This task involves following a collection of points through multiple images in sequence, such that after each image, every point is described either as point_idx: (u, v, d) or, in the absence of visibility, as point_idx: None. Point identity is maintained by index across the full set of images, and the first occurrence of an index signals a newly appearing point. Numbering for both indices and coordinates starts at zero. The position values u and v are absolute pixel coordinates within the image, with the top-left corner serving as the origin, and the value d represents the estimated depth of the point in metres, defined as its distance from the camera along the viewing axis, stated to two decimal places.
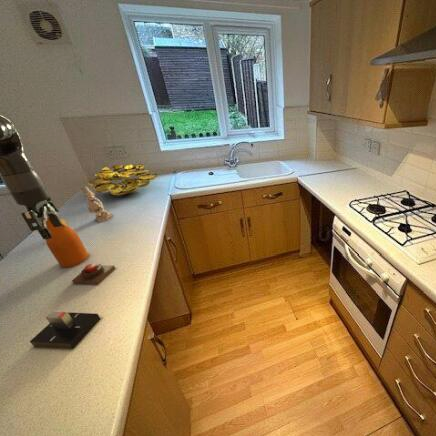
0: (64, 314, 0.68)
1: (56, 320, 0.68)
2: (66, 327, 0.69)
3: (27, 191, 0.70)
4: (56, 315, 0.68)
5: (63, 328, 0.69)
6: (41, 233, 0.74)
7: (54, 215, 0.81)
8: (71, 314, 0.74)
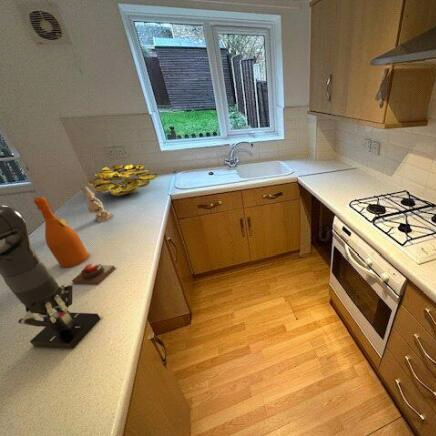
0: (64, 314, 0.68)
1: None
2: (66, 327, 0.69)
3: (23, 292, 0.59)
4: (56, 315, 0.68)
5: (63, 328, 0.69)
6: (50, 326, 0.67)
7: None
8: (71, 314, 0.74)
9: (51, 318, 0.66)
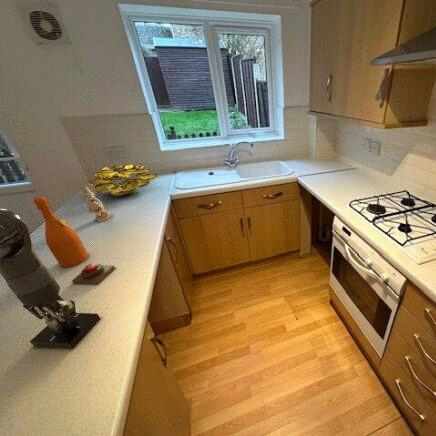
0: None
1: (62, 315, 0.69)
2: None
3: (51, 281, 0.63)
4: None
5: None
6: (69, 322, 0.69)
7: None
8: None
9: None
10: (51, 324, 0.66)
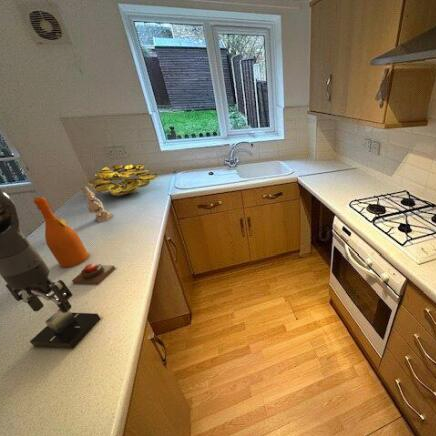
0: None
1: (62, 315, 0.69)
2: (72, 319, 0.72)
3: (40, 263, 0.61)
4: (58, 313, 0.68)
5: (69, 323, 0.71)
6: (65, 305, 0.66)
7: (34, 296, 0.66)
8: None
9: None
10: (51, 324, 0.66)
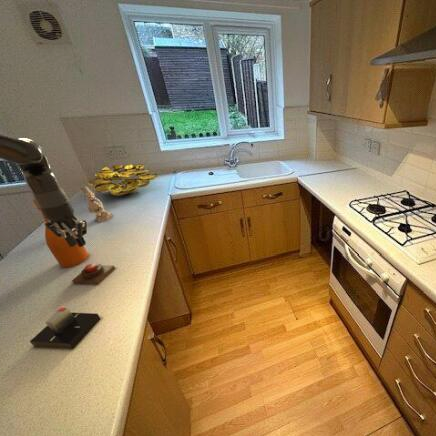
0: None
1: (62, 315, 0.69)
2: (72, 319, 0.72)
3: (68, 202, 0.80)
4: (58, 313, 0.68)
5: (69, 323, 0.71)
6: (81, 240, 0.85)
7: (70, 234, 0.85)
8: None
9: None
10: (51, 324, 0.66)
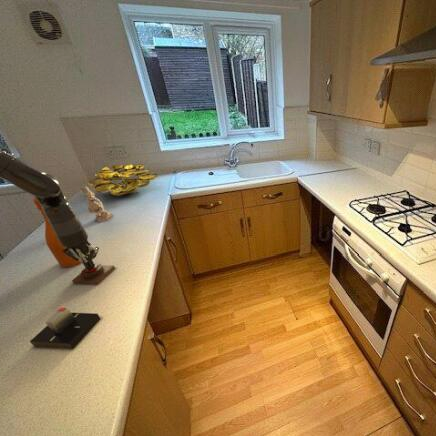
0: None
1: (62, 315, 0.69)
2: (72, 319, 0.72)
3: (82, 229, 0.85)
4: (58, 313, 0.68)
5: (69, 323, 0.71)
6: (90, 263, 0.90)
7: None
8: None
9: None
10: (51, 324, 0.66)
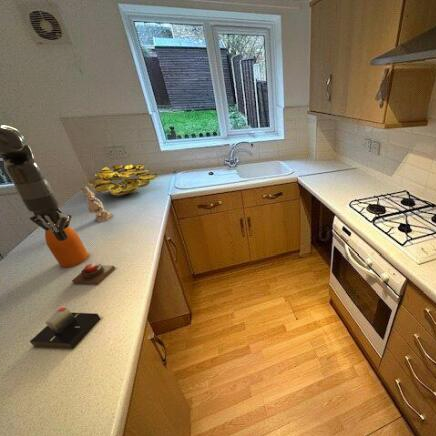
0: None
1: (62, 315, 0.69)
2: (72, 319, 0.72)
3: (52, 194, 0.77)
4: (58, 313, 0.68)
5: (69, 323, 0.71)
6: (62, 234, 0.82)
7: None
8: None
9: None
10: (51, 324, 0.66)
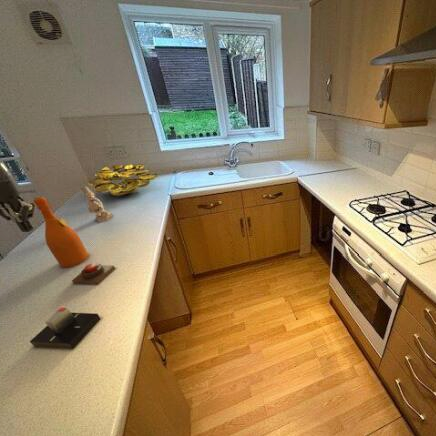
0: None
1: (62, 315, 0.69)
2: (72, 319, 0.72)
3: (12, 180, 0.70)
4: (58, 313, 0.68)
5: (69, 323, 0.71)
6: (26, 224, 0.76)
7: None
8: None
9: None
10: (51, 324, 0.66)
